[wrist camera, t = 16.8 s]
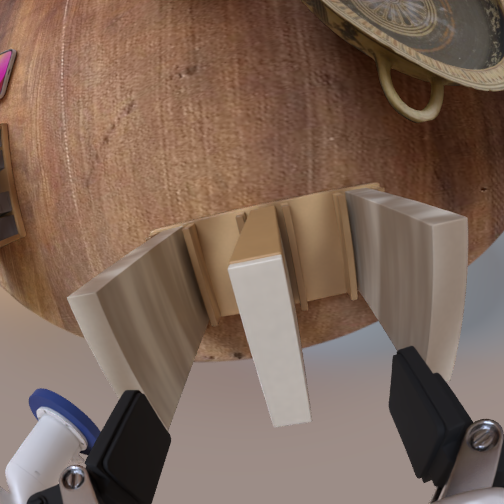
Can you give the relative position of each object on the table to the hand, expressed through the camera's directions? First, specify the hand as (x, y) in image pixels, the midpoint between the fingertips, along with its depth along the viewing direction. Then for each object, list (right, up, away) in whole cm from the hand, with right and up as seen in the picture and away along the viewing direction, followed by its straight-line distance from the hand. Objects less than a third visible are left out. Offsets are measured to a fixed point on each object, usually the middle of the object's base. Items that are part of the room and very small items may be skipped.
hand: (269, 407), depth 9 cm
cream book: (+1, +5, +16) cm, 16 cm away
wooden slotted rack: (+1, +5, +17) cm, 17 cm away
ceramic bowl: (+13, +30, +9) cm, 34 cm away
